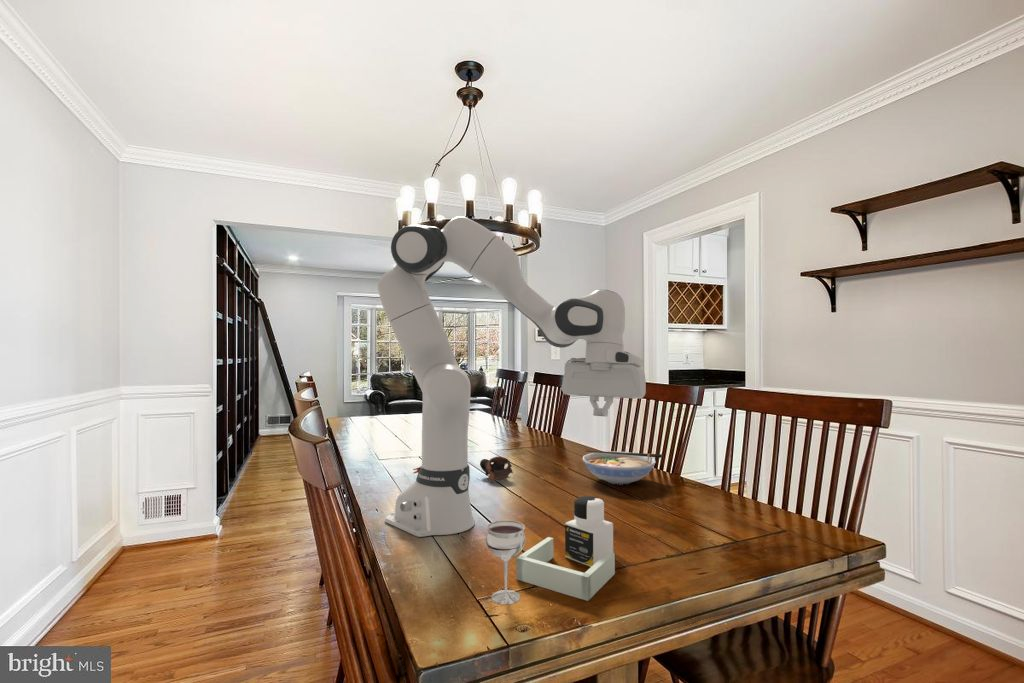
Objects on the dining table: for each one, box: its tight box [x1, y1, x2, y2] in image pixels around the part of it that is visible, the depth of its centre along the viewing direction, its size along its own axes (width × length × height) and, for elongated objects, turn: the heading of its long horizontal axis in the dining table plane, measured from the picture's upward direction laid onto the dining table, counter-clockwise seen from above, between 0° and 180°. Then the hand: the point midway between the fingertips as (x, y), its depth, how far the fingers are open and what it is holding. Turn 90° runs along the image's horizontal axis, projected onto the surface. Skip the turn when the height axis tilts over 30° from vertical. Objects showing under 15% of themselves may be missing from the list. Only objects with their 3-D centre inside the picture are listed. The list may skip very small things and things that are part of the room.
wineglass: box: [485, 519, 526, 605], centre depth 86 cm, size 7×7×12 cm
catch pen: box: [515, 536, 616, 602], centre depth 94 cm, size 14×12×4 cm
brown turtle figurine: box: [479, 456, 514, 483], centre depth 162 cm, size 12×10×8 cm
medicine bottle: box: [564, 495, 614, 568], centre depth 102 cm, size 7×7×12 cm
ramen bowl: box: [582, 450, 663, 486], centre depth 158 cm, size 25×23×8 cm
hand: (600, 416), depth 117 cm, fingers closed
